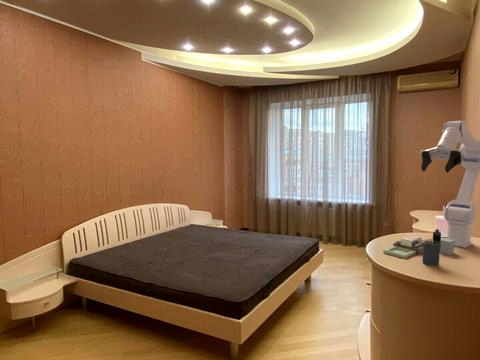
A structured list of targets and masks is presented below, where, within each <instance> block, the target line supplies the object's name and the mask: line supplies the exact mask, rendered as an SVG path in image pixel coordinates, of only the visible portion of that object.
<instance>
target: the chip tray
mask: <svg viewBox="0 0 480 360" xmlns="http://www.w3.org/2000/svg"><path fill="white" fill-rule="evenodd" d="M383 254H385V255H388V256H393V257H396V258H401V259H408V258H410V257H412V256H414V255H417V254H416V251H415V250H410V249H406V248H402V247H397V246H393V245H392V246H391V247H388V248H386V249H383Z"/></svg>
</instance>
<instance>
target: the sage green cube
mask: <svg viewBox="0 0 480 360" xmlns="http://www.w3.org/2000/svg"><path fill="white" fill-rule="evenodd" d="M454 241H455V240H451V239H448V238H442V237H441V248H440V254H441V255H442V254H443V255H447V256H450V255H452V254H454V253H455V246H454Z"/></svg>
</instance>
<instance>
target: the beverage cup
mask: <svg viewBox="0 0 480 360" xmlns="http://www.w3.org/2000/svg"><path fill="white" fill-rule="evenodd" d="M445 208H446V207H445V205H443V207H442V215H434V216H435V230H436V229H438V230H439V232H441V238H442V237H448V223H449V222H447V220H446V219H445V218H444V210H445Z"/></svg>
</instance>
